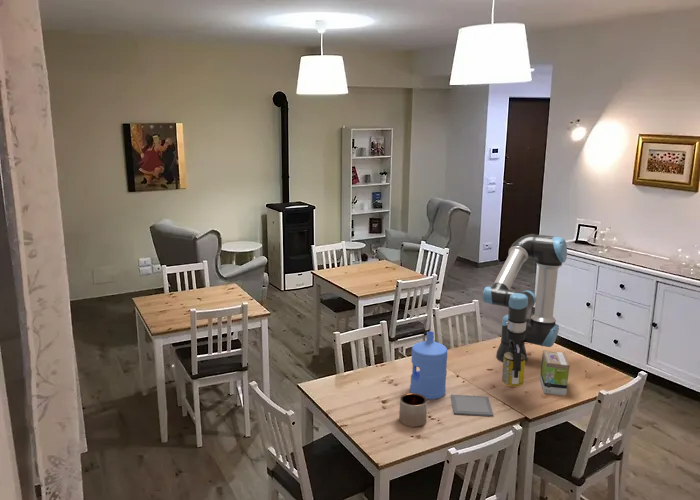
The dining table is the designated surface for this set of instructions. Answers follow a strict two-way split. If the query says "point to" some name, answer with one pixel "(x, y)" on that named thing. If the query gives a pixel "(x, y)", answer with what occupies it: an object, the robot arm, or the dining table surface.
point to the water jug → (429, 368)
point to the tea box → (554, 373)
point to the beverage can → (508, 369)
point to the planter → (413, 410)
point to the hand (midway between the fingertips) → (512, 378)
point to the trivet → (471, 405)
